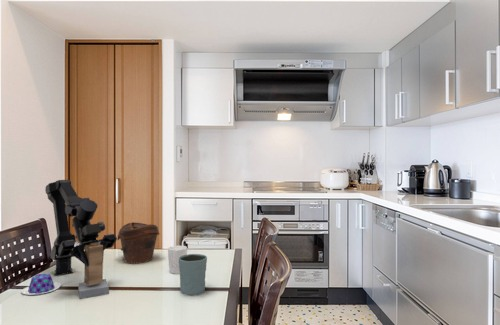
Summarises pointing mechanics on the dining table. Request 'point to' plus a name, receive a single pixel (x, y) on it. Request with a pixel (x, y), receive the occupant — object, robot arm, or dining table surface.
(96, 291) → the base brick
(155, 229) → the brown basket
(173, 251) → the white cup
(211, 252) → the dining table surface
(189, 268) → the green cup
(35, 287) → the purple patterned hat
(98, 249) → the column
